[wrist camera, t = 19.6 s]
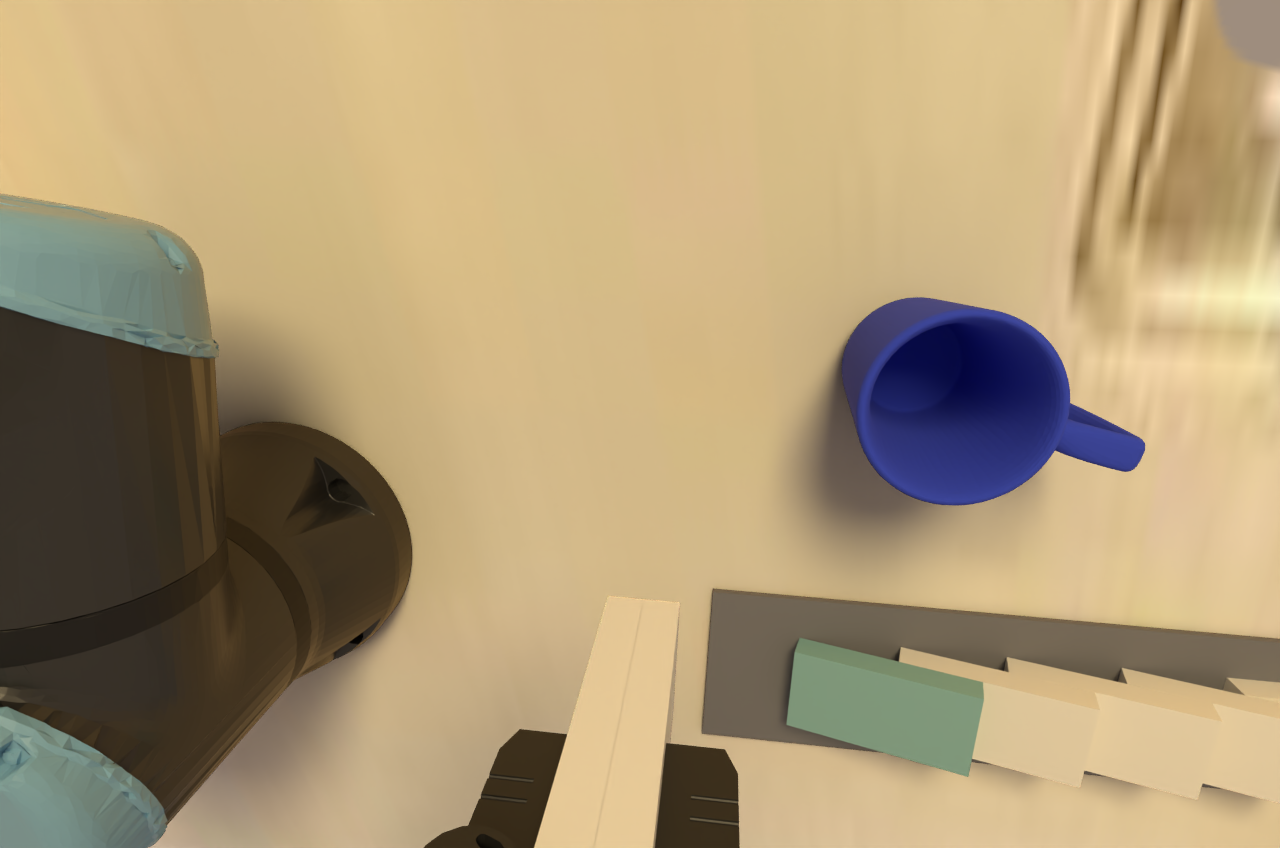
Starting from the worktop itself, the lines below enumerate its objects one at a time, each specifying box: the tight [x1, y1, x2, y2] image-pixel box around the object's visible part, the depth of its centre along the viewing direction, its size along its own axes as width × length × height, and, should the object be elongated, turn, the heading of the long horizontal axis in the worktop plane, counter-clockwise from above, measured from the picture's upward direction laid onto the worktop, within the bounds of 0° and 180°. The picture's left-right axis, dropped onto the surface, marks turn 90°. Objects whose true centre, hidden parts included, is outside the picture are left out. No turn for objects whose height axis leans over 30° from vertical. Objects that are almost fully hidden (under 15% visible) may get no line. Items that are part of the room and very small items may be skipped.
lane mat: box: [702, 589, 1280, 789], centre depth 44 cm, size 34×10×1 cm, turn 88°
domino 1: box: [898, 647, 1100, 788], centre depth 42 cm, size 2×5×10 cm
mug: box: [842, 297, 1145, 505], centre depth 35 cm, size 8×12×10 cm
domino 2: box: [1004, 657, 1222, 800], centre depth 42 cm, size 2×5×10 cm
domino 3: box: [1118, 668, 1280, 804], centre depth 41 cm, size 2×5×10 cm
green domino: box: [786, 638, 984, 777], centre depth 43 cm, size 2×5×10 cm
